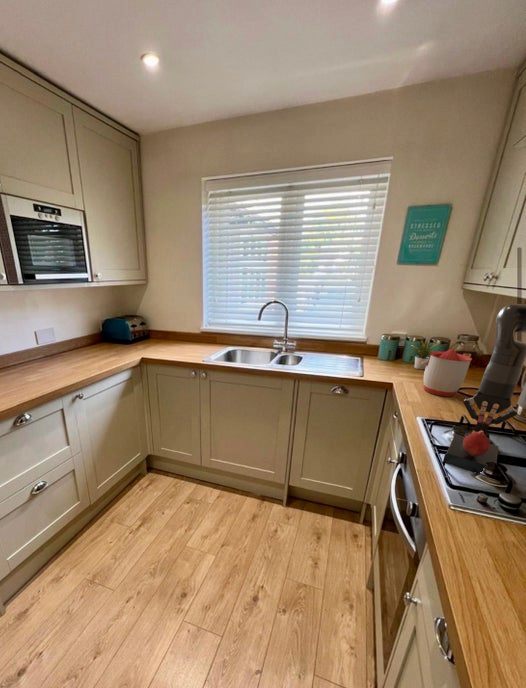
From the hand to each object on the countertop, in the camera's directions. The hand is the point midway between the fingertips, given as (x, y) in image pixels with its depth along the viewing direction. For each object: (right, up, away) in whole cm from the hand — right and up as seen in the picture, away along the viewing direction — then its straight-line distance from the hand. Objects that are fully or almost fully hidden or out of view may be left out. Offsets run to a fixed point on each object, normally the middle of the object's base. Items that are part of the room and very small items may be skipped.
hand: (479, 433), depth 98 cm
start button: (0, -2, +1) cm, 2 cm away
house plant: (+36, +34, +83) cm, 97 cm away
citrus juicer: (+22, +14, +51) cm, 58 cm away
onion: (-7, -6, -6) cm, 11 cm away
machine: (-4, -7, -1) cm, 8 cm away
